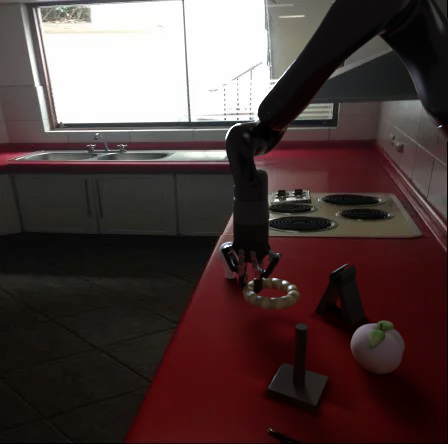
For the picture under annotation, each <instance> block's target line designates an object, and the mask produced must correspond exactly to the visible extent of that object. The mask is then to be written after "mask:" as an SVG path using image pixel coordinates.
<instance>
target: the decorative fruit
mask: <svg viewBox="0 0 448 444" xmlns="http://www.w3.org/2000/svg"><path fill="white" fill-rule="evenodd" d="M350 350H351V353H352V356H353V357H354V359H355V360H356V362H357V363H358V364H359V365H360V366H361V367H362V368H363V369H364V370H365V371H367V372H369V373H371V374H375V375H387V374H390V373H392V372H394V371H395V370H396V369H397V368H399V366H400V364H401V363H402V360H403V355H404V351H405V341H404V338H403V337H402V335H401V334H400V332H399V331H397V329H396V328H395V325H394V324H393V322H391V321H389V320H380V321H378V322H377V323H366V324H363V325H361V326H360V327H358V328H357V329H356V330H355V332H354V333H353V335H352V337H351V341H350Z"/></svg>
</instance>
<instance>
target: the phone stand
mask: <svg viewBox="0 0 448 444" xmlns="http://www.w3.org/2000/svg"><path fill="white" fill-rule="evenodd" d="M347 266H348V267H347ZM361 298H362V297H361V294H360V291H359V287H358V283H357V268H356V267H355V265H354V264H351V265H350V266H349V263H346V264H344V265H342V266H341V267H339V268H337V269H336V270H334V271H332V272H331V273H329V275H328V285H327V286H326V289H325V290H324V293H323V294H322V296H321V299H320V301H319V302H318V304H317V306H316V308H315V310H314V312H315V313H317V314H320V315H323V314H325V313H326V312H327V311H329V310H330V309H332V308H333V307H335V306H336V305H337V302H338V299H339V304H340V309H341V315H342V320H343V324H345V325H348V326H351V327H353V326H354V325H356V324H357V323H358V322H359V321H360V320H362V319H363V318H364V317H365V316H366V313H365V309H364V305H363V302H362V299H361Z"/></svg>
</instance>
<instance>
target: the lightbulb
mask: <svg viewBox="0 0 448 444" xmlns="http://www.w3.org/2000/svg"><path fill="white" fill-rule="evenodd" d="M232 242H233V241H226V242H224V243H222V244H221V245H220V247H219V248H218V258H219V261H221V263H222V266H223V271H224V275H225V276H224V277H225V278H226V279H230V280H232V279H235V278H236V272H231V270H230V268H229V266H228V264H227V262H226V260H225V257H224V255H223V253H222V251H221V249H222V248H223V247H225V246H226V245H232ZM234 255H235V257H236V259H237V261H238V260H239V257H238V256H237V254H236V253H235V251H234Z"/></svg>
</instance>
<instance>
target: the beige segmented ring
mask: <svg viewBox="0 0 448 444" xmlns="http://www.w3.org/2000/svg"><path fill="white" fill-rule="evenodd" d="M297 287H298V286H297V285H296V284H293V283H291V282H289V281H288V280H285V279H279V278H275V277H268V278H267V279H264V278H263V289H262V290H267V289H268V290H269V289H270V290H272V289H273V290H277V291H281V292H283V293H285V294H286V295H284V296H281V297H266V296H262V295H259V294H256V293H255V292H254V279H253V280H250V281H248V284H247V285H246V286H245V287H244V288H243V291H242V293H243V298H244V300H245V301H246V302H247V303H249V304H251V306H253V307H255V308H258V309H264V310H266V311H268V310H269V311H277V310H278V311H279V310H286V309H288V308H291V307H295V305H296V304H297V302H298V301H299V300H300V298H301V293H300V291H299V289H298V288H297Z"/></svg>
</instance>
